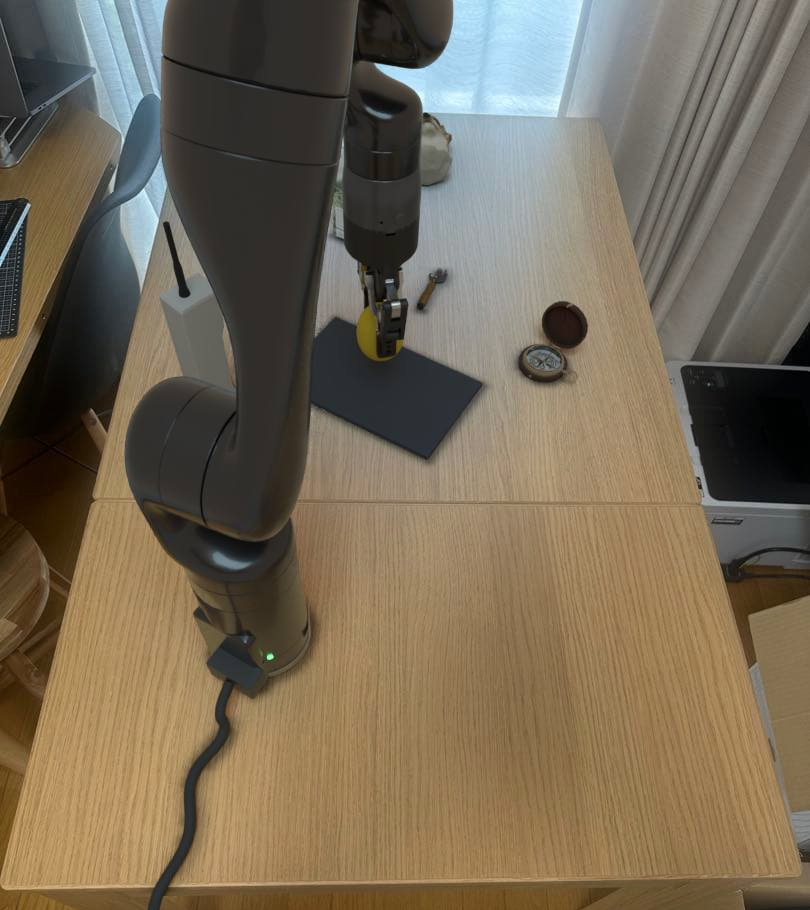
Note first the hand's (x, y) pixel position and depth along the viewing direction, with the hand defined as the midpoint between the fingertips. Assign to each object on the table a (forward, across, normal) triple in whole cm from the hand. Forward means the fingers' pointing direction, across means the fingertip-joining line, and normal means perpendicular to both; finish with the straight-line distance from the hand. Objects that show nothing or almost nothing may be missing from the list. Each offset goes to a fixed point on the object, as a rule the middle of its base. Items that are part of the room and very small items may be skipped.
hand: (379, 336), depth 86 cm
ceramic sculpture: (+8, -45, +18) cm, 49 cm away
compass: (+8, +1, +23) cm, 24 cm away
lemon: (+4, 0, 0) cm, 4 cm away
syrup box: (+8, -30, +4) cm, 31 cm away
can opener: (+8, -16, +11) cm, 21 cm away
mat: (+8, 0, 0) cm, 8 cm away
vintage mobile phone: (+8, -1, -20) cm, 22 cm away
